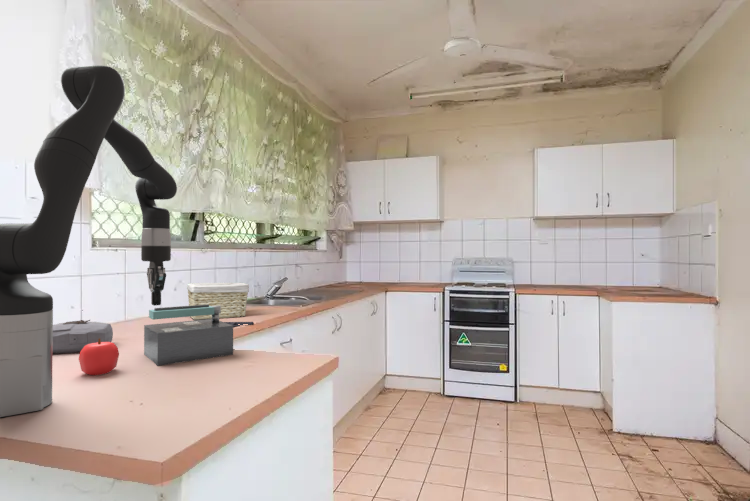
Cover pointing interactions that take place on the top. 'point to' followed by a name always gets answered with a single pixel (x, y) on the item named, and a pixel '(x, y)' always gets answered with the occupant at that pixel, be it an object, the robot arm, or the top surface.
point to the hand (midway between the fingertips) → (156, 305)
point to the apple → (98, 358)
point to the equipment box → (188, 340)
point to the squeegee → (239, 323)
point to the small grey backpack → (79, 335)
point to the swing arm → (183, 311)
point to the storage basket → (219, 298)
